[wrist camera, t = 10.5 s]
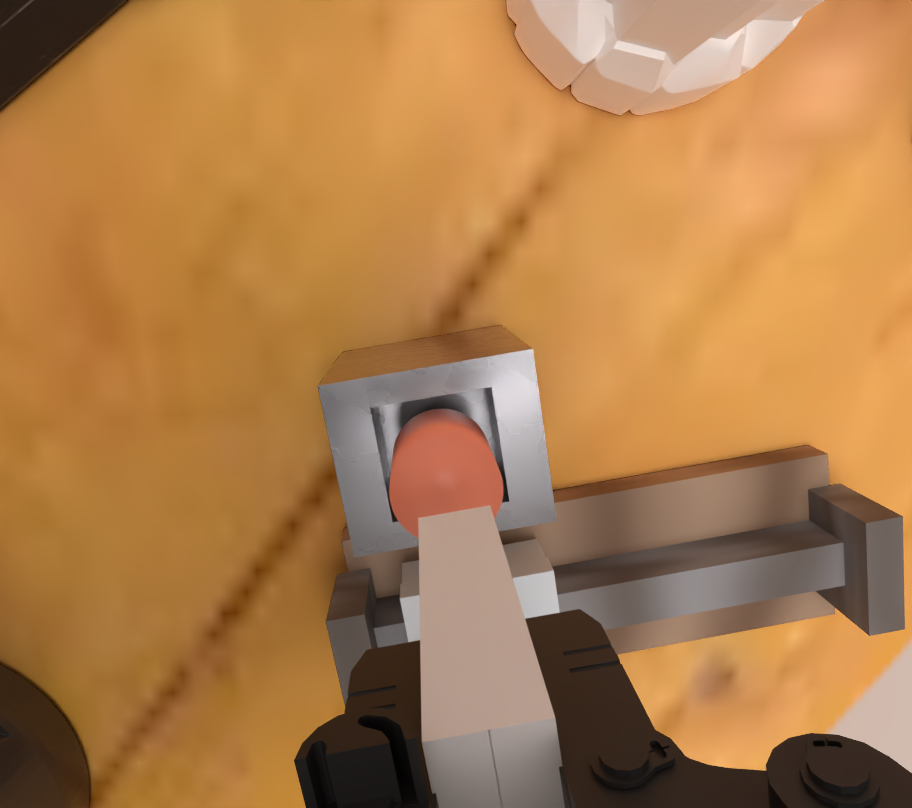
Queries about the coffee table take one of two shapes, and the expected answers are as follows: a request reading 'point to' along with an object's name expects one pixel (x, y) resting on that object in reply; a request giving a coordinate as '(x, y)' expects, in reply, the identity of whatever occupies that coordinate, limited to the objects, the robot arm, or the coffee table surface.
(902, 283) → the coffee table surface
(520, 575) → the carriage
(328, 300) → the coffee table surface
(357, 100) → the coffee table surface
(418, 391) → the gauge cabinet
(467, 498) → the button
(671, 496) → the slide rail
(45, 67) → the cash box
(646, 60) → the decorative vase
